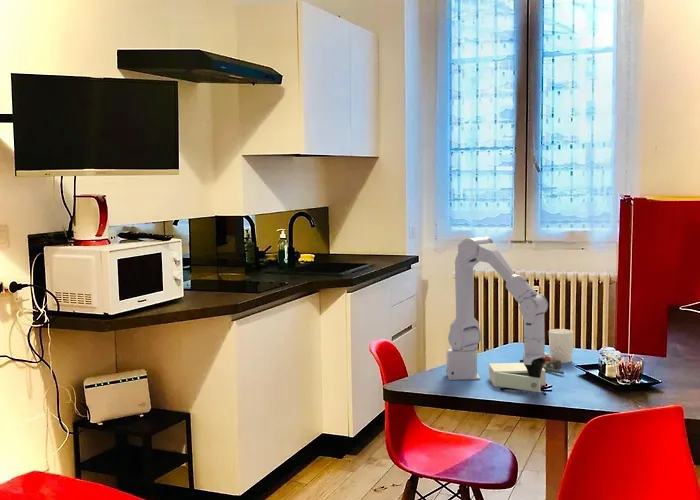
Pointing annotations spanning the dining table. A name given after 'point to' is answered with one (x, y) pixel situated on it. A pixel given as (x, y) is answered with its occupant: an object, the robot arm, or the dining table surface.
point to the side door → (519, 382)
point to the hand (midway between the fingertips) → (534, 384)
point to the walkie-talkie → (551, 364)
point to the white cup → (561, 344)
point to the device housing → (511, 371)
